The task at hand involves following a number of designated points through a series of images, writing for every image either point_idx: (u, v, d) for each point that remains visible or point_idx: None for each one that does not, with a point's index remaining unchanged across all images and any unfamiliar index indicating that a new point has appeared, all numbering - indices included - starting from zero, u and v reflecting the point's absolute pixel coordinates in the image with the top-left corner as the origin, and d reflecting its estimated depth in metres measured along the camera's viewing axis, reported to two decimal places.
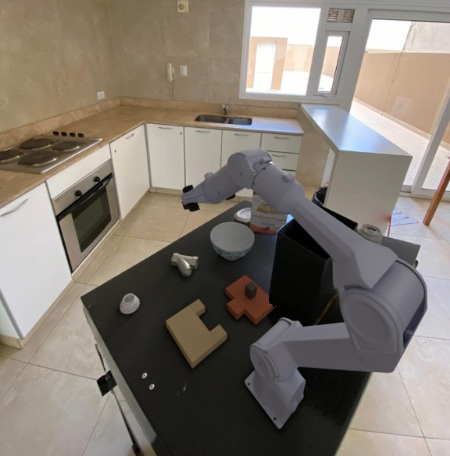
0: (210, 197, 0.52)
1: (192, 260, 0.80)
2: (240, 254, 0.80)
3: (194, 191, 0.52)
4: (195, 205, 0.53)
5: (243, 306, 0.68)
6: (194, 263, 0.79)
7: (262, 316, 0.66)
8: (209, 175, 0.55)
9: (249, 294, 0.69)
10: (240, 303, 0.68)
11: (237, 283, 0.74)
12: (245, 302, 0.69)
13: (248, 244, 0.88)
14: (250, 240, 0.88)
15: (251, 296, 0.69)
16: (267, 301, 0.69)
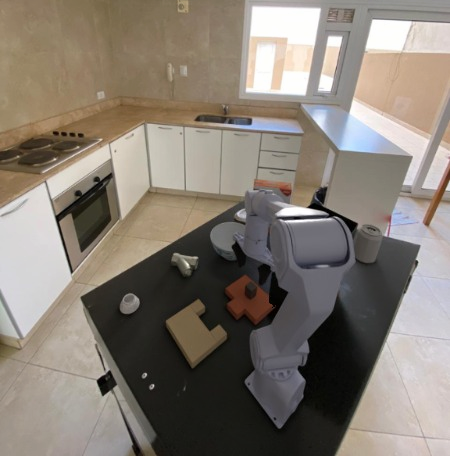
0: None
1: (192, 260, 0.80)
2: None
3: (243, 236, 0.69)
4: (237, 247, 0.68)
5: (243, 306, 0.68)
6: (194, 263, 0.79)
7: (262, 316, 0.66)
8: None
9: (249, 294, 0.69)
10: (240, 303, 0.68)
11: (237, 283, 0.74)
12: (245, 302, 0.69)
13: None
14: None
15: (251, 296, 0.69)
16: (267, 301, 0.69)
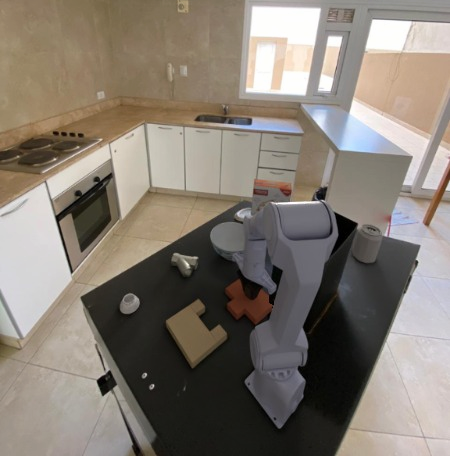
0: None
1: (192, 260, 0.80)
2: None
3: (242, 257, 0.71)
4: (242, 273, 0.69)
5: (243, 306, 0.68)
6: (194, 263, 0.79)
7: (262, 316, 0.66)
8: None
9: (249, 294, 0.69)
10: (240, 303, 0.68)
11: (237, 283, 0.74)
12: (245, 302, 0.69)
13: None
14: None
15: None
16: (267, 301, 0.69)
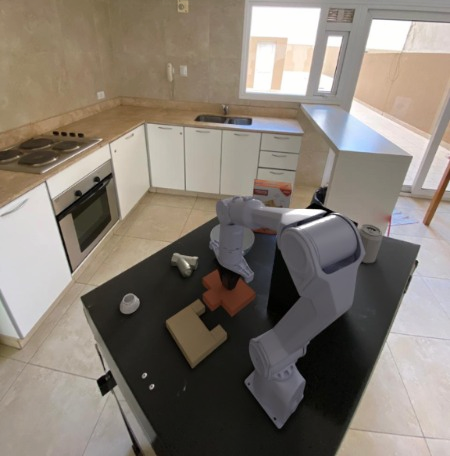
0: None
1: (192, 260, 0.80)
2: None
3: None
4: (218, 261, 0.64)
5: (220, 297, 0.62)
6: (194, 263, 0.79)
7: (239, 307, 0.61)
8: None
9: (226, 284, 0.64)
10: (216, 293, 0.63)
11: (215, 273, 0.69)
12: (222, 292, 0.64)
13: (248, 244, 0.88)
14: (250, 240, 0.88)
15: None
16: (246, 291, 0.64)
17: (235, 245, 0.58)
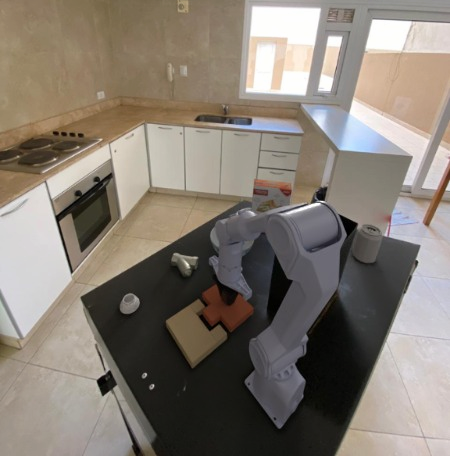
0: None
1: (192, 260, 0.80)
2: None
3: None
4: (218, 278, 0.66)
5: (219, 312, 0.64)
6: (194, 263, 0.79)
7: (238, 323, 0.63)
8: None
9: (226, 299, 0.66)
10: (216, 309, 0.65)
11: (215, 288, 0.71)
12: (221, 308, 0.66)
13: (248, 244, 0.88)
14: (250, 240, 0.88)
15: None
16: (244, 307, 0.66)
17: (234, 264, 0.60)
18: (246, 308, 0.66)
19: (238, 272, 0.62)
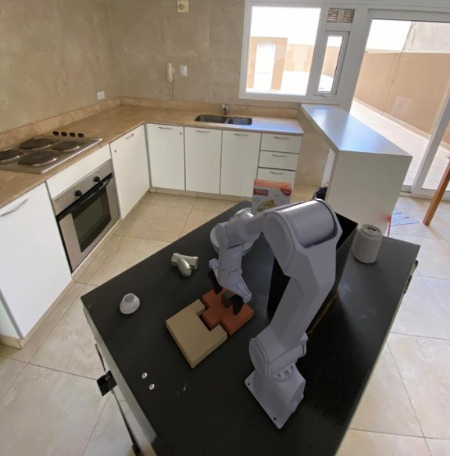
0: None
1: (192, 260, 0.80)
2: None
3: None
4: (212, 275, 0.68)
5: (219, 315, 0.65)
6: (194, 263, 0.79)
7: (238, 326, 0.63)
8: None
9: (225, 303, 0.66)
10: (216, 312, 0.66)
11: None
12: (221, 311, 0.66)
13: (248, 244, 0.88)
14: None
15: (227, 305, 0.66)
16: (244, 310, 0.67)
17: (234, 267, 0.60)
18: (246, 311, 0.66)
19: (238, 275, 0.62)
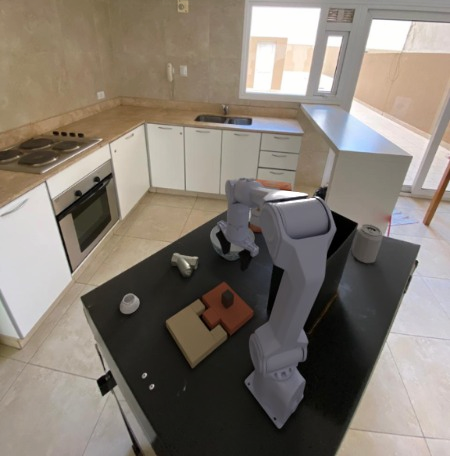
0: None
1: (192, 260, 0.80)
2: None
3: None
4: (220, 235, 0.71)
5: (219, 315, 0.65)
6: (194, 263, 0.79)
7: (238, 326, 0.63)
8: None
9: (225, 303, 0.66)
10: (216, 312, 0.66)
11: (215, 291, 0.72)
12: (221, 311, 0.66)
13: None
14: None
15: (227, 305, 0.66)
16: (244, 310, 0.67)
17: (240, 222, 0.63)
18: (246, 311, 0.66)
19: (245, 231, 0.66)
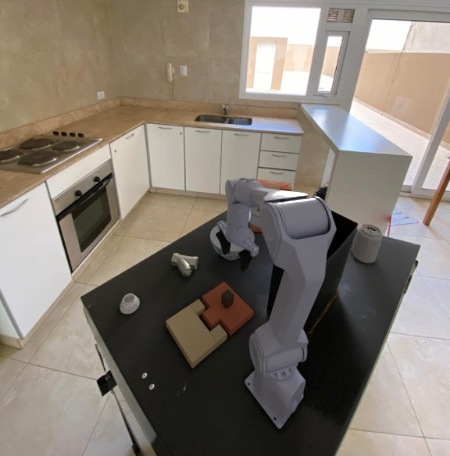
0: None
1: (192, 260, 0.80)
2: None
3: None
4: (220, 235, 0.71)
5: (219, 315, 0.65)
6: (194, 263, 0.79)
7: (238, 326, 0.63)
8: None
9: (225, 303, 0.66)
10: (216, 312, 0.66)
11: (215, 291, 0.72)
12: (221, 311, 0.66)
13: None
14: None
15: (227, 305, 0.66)
16: (244, 310, 0.67)
17: (240, 222, 0.63)
18: (246, 311, 0.66)
19: (245, 231, 0.66)
